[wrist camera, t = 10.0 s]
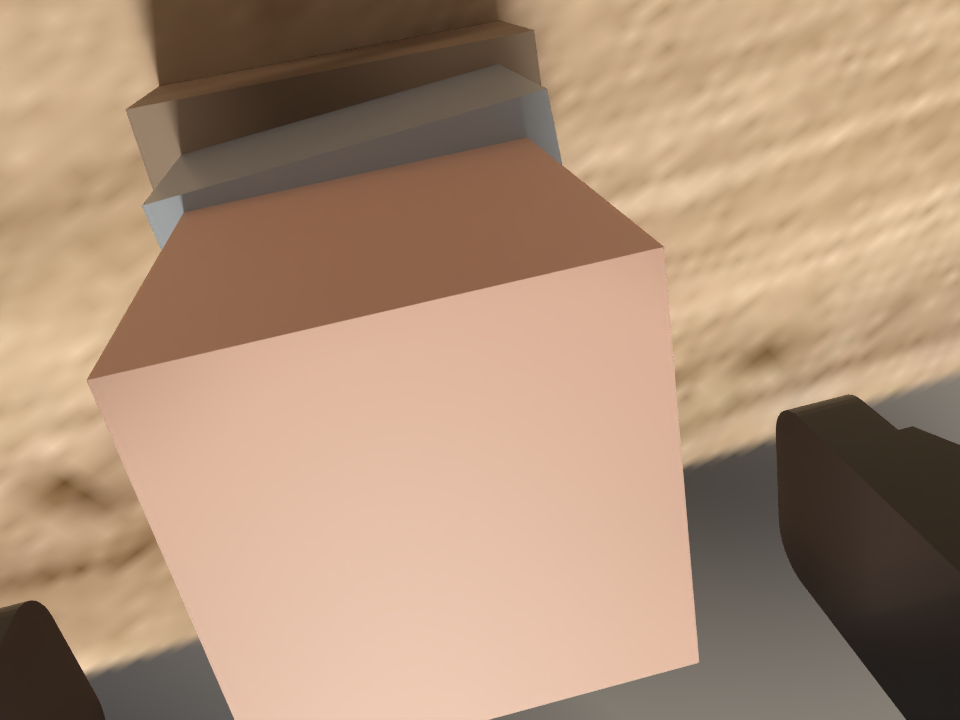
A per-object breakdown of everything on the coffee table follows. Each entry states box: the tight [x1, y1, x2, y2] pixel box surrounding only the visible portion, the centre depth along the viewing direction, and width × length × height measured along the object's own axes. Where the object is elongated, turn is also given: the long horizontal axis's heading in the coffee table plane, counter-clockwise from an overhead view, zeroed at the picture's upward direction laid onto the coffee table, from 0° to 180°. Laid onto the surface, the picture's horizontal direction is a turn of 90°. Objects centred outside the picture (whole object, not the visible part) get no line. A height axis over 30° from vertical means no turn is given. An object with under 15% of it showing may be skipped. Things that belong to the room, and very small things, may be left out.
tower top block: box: [142, 64, 562, 250], centre depth 16 cm, size 6×6×4 cm
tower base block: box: [126, 21, 541, 191], centre depth 20 cm, size 8×8×4 cm
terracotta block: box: [87, 138, 699, 720], centre depth 12 cm, size 6×6×6 cm
